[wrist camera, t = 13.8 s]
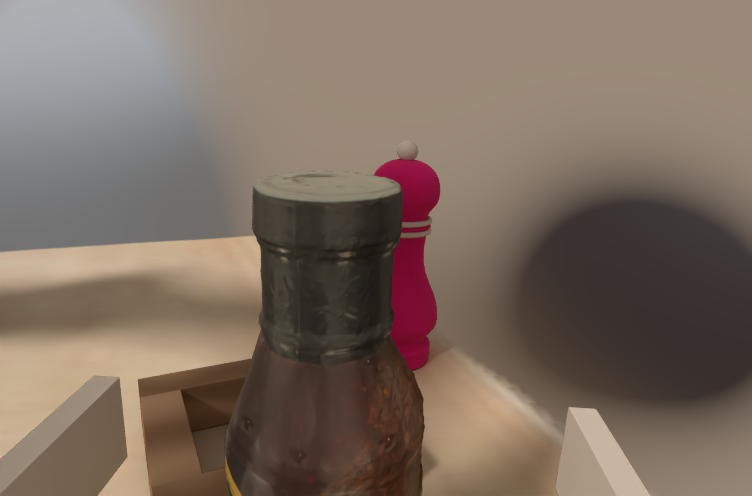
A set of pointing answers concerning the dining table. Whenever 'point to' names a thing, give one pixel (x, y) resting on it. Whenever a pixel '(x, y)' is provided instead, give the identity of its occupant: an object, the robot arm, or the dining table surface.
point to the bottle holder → (186, 425)
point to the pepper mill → (412, 255)
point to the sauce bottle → (326, 347)
